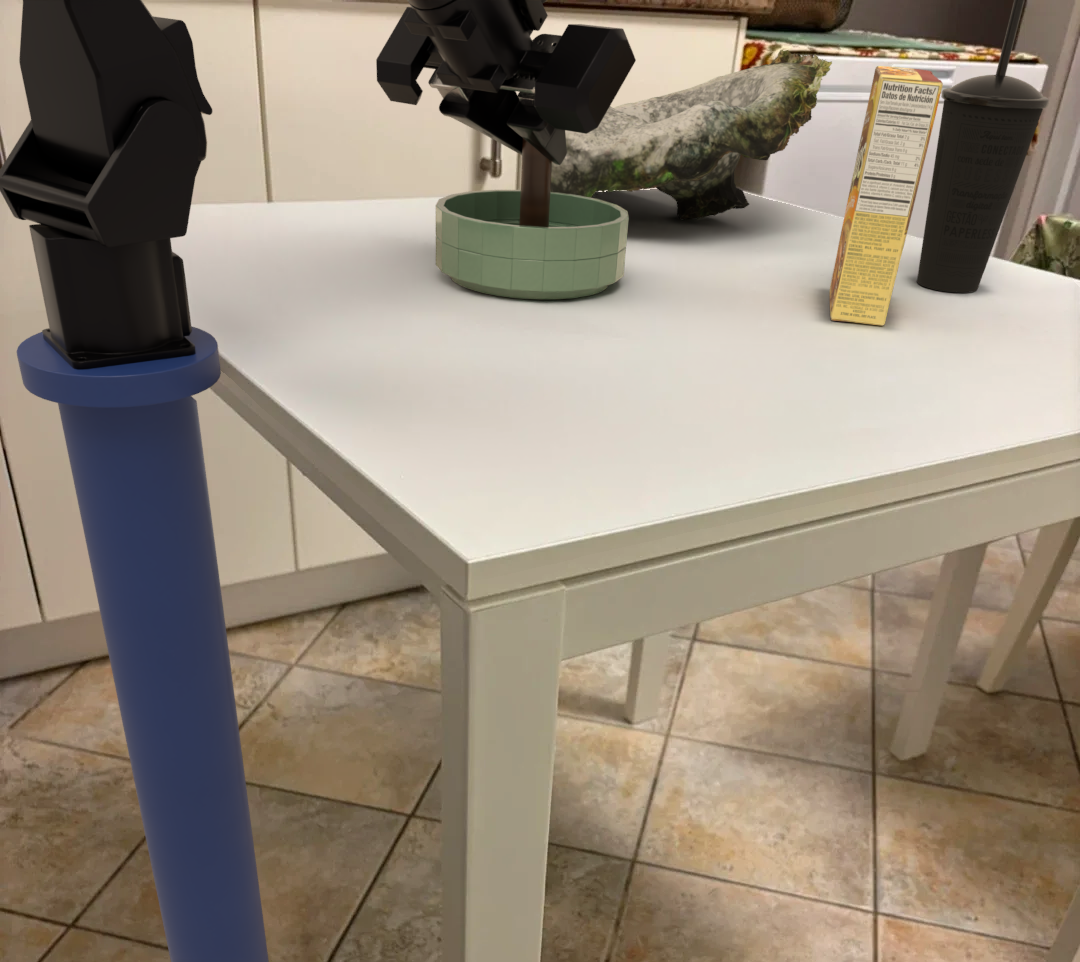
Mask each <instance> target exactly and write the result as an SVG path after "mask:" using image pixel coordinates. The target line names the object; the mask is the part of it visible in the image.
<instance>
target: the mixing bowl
mask: <svg viewBox="0 0 1080 962" xmlns="http://www.w3.org/2000/svg"><path fill="white" fill-rule="evenodd" d="M520 194H521V189H485V190H472V191H471V190H469V191H464V192H458V193H451V194H448V195H447V196H443V197H441V198H439V199H438V200H437V202H436V204H435V266H436V267H437V268H438V269H439V271H440V272H441V273H443V274H444V275H447V276H449V277H450V278H449V279H451V281H452V282H453V283H455V284H456V285H459V286H461V287H462V288H466V289H468V290H471V291H474V292H477V293H482V294H486V295H491V296H496V297H503V298H510V299H522V300H543V301H544V300H551V301H552V300H569V299H578V298H583V297H585V298H586V297H589V296H593V295H596V294H599V293H601V292H603V291H605V290H607V289H608V287H609V286H610V285H612V284H615V283H617V282H618V281H619V280H621V279H622V278H623V277H624V275H625V274H624V273H625V266H626V265H625V263H626V253H627V242H628V230H629V220H630V216H629V212H628V210H626V209H625V208H623V207H622V206H620V205H618V204H616V203H612V202H609V201H606V200H603V199H600V198H594V197H585V196H580V195H573V194H565V193H557V192H550V210H549V227H538V226H522V225H519V220H520Z"/></svg>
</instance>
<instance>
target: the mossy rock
mask: <svg viewBox="0 0 1080 962" xmlns="http://www.w3.org/2000/svg"><path fill="white" fill-rule="evenodd" d="M832 64H833V61H827V60H826V59H823V58H819V56H818V55H817V54H814V53H812V54H811V53H808V54H807V55H804V53H802V54H800V53H796V52H794V53H792V52H790V50H789V49H786V50H784V49H780V50H779V52H778V53H777V57H776V58H775V59H774V60H773V61H772V62H771V63H769V64H767V63H766V64H761V65H758V66H757V65H756V66H753V67H750V68H746V69H742V70H738V71H735V72H730V73H727V74H725V75H719V76H716V77H714V78H712V79H710V80H707V81H705V82H702V83H700V84H696V85H694V86H691V87H689V88H685V89H682V90H678V91H674V92H672V93H668V94H664V95H660V96H654V97H650V98H647V99H642V100H638V101H635V102H630V103H629V102H627V103H623V104H620V105H618V106H615V107H612V106H611V105H610V107H609V109H608V110H607V112H606V114H605V116H604V117H603V119H602V121H601V123H600V124H599V126H598V128H596V129H594V130H593V131H591V132H589V133H587V134H584V133H578V132H572V131H566V130H565V134H566V147H567V154H566V157H565V158H564V160H563V162H562V164H561V165H556V164H555V163H553V162H552V172H551V191H550V192H557V193H565V194H573V195H580V196H585V197H590V198H593V196H594V195H595V193H599V192H601V193H603V194H604V193H605V192H607V193H613V192H614V191H615V192H621V191H622V192H623V191H624V192H628V193H632V192H638V191H641V190H643V191H644V190H647V189H657V190H658V191H659V192H661V193H663V194H665V195H668V196H669V197H671V198H672V200H674V201H675V202H676V214H677V217H678V218H679V219H680V220H681V221H683V220H696V219H703V218H706V217H713V216H716V215H718V214H723V213H725V212H727V211H731V210H734V209H736V210H739V209H745V208H747V207H748V206H749V205H750V203H749V201H748V199H747V197H746V194H745V193H744V190H743V189H741V188H739V187H737V186H736V183H735V182H736V181H735V171H736V168H737V166H738V164H739V161H740V159H741V156H743V157H744V158H746V159H753V160H758V161H768V160H769V159H770V157H771V155H774V154H776V153H778V152H782V151H784V150H785V149H786V148H787V146H789V142H790V139H791V137H792V136H795V135H797V134H798V133H800V128H801V127H805V124H806V123H809V121H811V120H812V118H813V116H812V110H813V109H815V108H816V106H817V104H818V102H817V101H818V98H817V96H818V92H819V90H820V89H821V82H822V81H823V77H826V76H827V74H828V73H829V72H830V70H831V66H832Z"/></svg>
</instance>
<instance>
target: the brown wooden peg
mask: <svg viewBox="0 0 1080 962" xmlns="http://www.w3.org/2000/svg"><path fill="white" fill-rule="evenodd" d="M520 168H521V169H520V172H521V173H520V190H521V194H520V220H519V225H522V226H538V227H549V210H550V191H551V172H552V161H550V160H549V159H548V158H546V157H545V156H544V155H543V154H541V153H540V152H539V151H538V150H537V149H535V148H534V147H533V146H532V145H531V144H530V143H528V142H527V141H526V140H525V139H524V138H523V142H522V155H521V167H520Z"/></svg>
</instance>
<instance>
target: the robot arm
mask: <svg viewBox="0 0 1080 962" xmlns="http://www.w3.org/2000/svg"><path fill="white" fill-rule="evenodd" d="M547 1H548V0H407V2H408V4H409V5H410V6H406V7H405V10H404V12H403V13H402V15H401V16H400V18H399V20H398V22H397V23H396V25H395V27H394V28H393V30H392V32H391V33H390V35H389V37H388V39H387V41H385V44H384V45H383V47H382V49H381V51H380V52H379V54H378V56H377V58H376V59H375V60H376V61H375V63H376V82H377V83H378V85H379V86H380V88H381V89H382V91H383V92H384V94H385V95H386V96H387V98H388V99H389V101H390V102H393V103H394V102H395V103H400V104H405V105H413V106H417V105H418V103H419V102H420V100H421V97H422V94H423V92H424V90H423V89H422V87H421V86H420V84H419V82H418V81H417V80H418V78H419V76H420V74H421V73H422V72H423V70H424V68H425V69H431V70H434V71H433V73H432V74H431V76H430V78H429V80H428V86H430V88H432V89H437V91H438V92H439V94H440V96H441V98H442V99H441V101H440V103H439V105H438V111H439V112H440V113H441V115H443V116H444V117H449V118H450V119H454V120H455V121H457V122H460V123H462V124H463V125H465V126H467V127H469V128H471V129H473V130H475V131H476V132H479V133H481V134H482V135H484V136H486V137H488V138H490V139H492V140H494V141H496V142H497V143H499V144H501V145H503V146H504V147H505V148H508V149H509V150H512V152H513V151H514V152H515V153H517V154H518V155H521V156H522V142H523V138H524V139H525V140H526V141H527V142H528V143H530V144H531V145H532V146H533V147H534V148H535V149H537V150H538V151H539V152H540V153H541V154H543V155H544V156H545V157H546V158H548V159H549V160H550V161H552V162H553V163H555V164H556V165H561V164H562V162H563V160H564V158H565V157H566V154H567V147H566V134H565V130H566V131H572V132H578V133H584V134H587V133H589V132H591V131H593V130H594V129H596V128H598V126H599V124H600V123H601V121H602V119H603V117H604V116H605V114H606V112H607V110H608V109H609V107H610V106H611V105H612V103H613V101H614V100H615V98H616V97H617V95H618V93H619V91H620V89H621V88H622V86H623V85H624V83H625V80H626V79H627V78H628V75H629V74H630V73H631V70H632V68H633V66H634V65H635V63H636V60H637V59H636V57H635V54H634V51H633V48H632V46H631V43H630V42H629V39H628V37H627V34H626V32H625V30H624V28H621V27H610V26H603V25H592V24H582V23H568V25H567V26H566V27H565V29H564V31H563V33H562V35H560V34H559V35H558V34H551V33H541V34H538V35H536V36H535V37H534V38H533V39H532V37H531V35H532V34H533V32H534V31H537V32H539V31H540V30H541V28H542V27H543V25H544V23H545V22H546V20H547V18H548V17H549V15H548V12H547V11H546V8H545V6H544V5H543V4H544V3H546V2H547ZM18 61H19V62H18V63H19V67H20V72H21V73H20V74H21V77H22V82H23V87H24V91H25V96H26V101H27V102H26V103H27V106H28V111H29V116H30V120H29V122H28V124H27V126H26V127H25V128H24V131H23V132H22V134H21V135H20V137H19V138H18V140H17V142H16V143H15V145H14V147H12V150H11V151H10V153H9V154H8V156H7V158H6V159H5V161H4V163H3V164H2V166H1V167H0V193H1V195H2V197H3V199H4V201H5V203H6V205H7V206H8V209H9V210H10V212H11V214H12V216H13V217H14V218H15V219H17V220H21V221H30V222H32V223H33V224H30V225H28V227H29V232H30V237H31V242H32V248H33V252H34V258H35V262H36V267H37V268H36V269H37V272H38V277H39V283H40V288H41V293H42V297H43V303H44V307H45V312H46V318H47V323H48V328H44V329H42V330H41V332H42V333H43V338H44V340H45V341H46V342H47V343H48V344H49V345H50V346H51V347H52V348H53V349H54V350H55V351H56V352H57V353H58V354H59V355H60V356H61V357H62V358H63V359H64V360H65V361H66V362H67V363H68V364H69V365H70V366H71V367H72V368H74V369H77V370H85V369H92V368H100V367H108V366H115V365H123V364H130V363H138V362H146V361H153V360H161V359H168V358H176V357H184V356H191V355H194V354H196V350H195V345H194V344H193V343H192V342H190V341H189V340H188V339H186V338H185V337H184V336H189V335H190V334H191V332H192V327H193V326H192V320H191V312H190V305H189V304H190V303H189V295H188V288H187V280H186V273H185V264H184V259H183V257H181V256H179V254H177V253H176V252H174V251H173V248H172V241H171V239H175V238H182V237H185V236H186V235H187V232H188V227H189V226H188V225H189V219H190V213H191V207H192V203H193V202H192V201H193V196H194V188H195V182H196V177H197V174H198V172H199V168H200V167H201V164H202V162H203V161H205V159H206V157H207V150H208V138H207V133H206V125H205V120H204V117H203V115H207V116H211V115H213V108H212V106H211V104H210V102H209V101H208V99H207V97H206V96H205V94H204V92H203V88H202V87H201V83H200V80H199V78H198V77H199V76H198V72H197V71H198V70H197V67H196V58H195V50H194V43H193V39H192V37H191V35H190V32H189V29H188V27H187V24H186V22H185V21H183V20H182V19H175V18H168V17H159V16H154V15H152V14H151V12H150V10H149V9H148V7H147V6H146V5H145V3H144V1H143V0H22V13H21V27H20V44H19V59H18ZM517 92H518V93H517ZM34 223H36V224H34ZM191 326H192V327H191Z"/></svg>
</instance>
